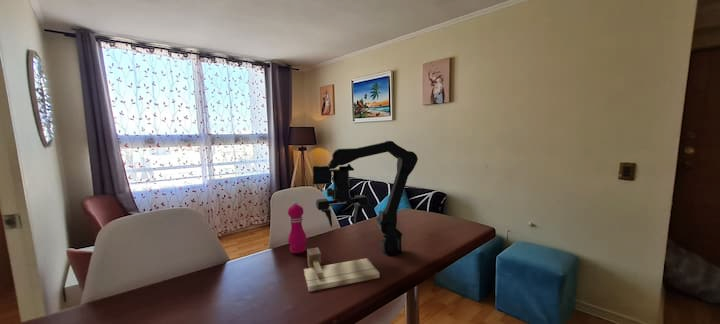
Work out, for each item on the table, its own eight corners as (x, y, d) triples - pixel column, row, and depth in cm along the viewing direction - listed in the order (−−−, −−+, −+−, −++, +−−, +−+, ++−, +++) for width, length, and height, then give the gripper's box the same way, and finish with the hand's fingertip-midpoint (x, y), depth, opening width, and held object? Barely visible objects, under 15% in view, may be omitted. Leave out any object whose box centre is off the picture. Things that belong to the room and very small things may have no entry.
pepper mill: (302, 254, 110) (299, 203, 108) (285, 253, 111) (282, 203, 110) (309, 247, 117) (307, 199, 115) (293, 246, 118) (290, 199, 117)
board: (367, 262, 101) (366, 258, 101) (379, 277, 89) (379, 272, 89) (304, 273, 94) (303, 268, 94) (308, 291, 83) (308, 286, 83)
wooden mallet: (318, 262, 103) (318, 247, 102) (327, 283, 87) (326, 265, 87) (307, 264, 101) (306, 249, 101) (314, 285, 86) (313, 268, 86)
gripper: (359, 178, 115) (360, 216, 116) (312, 182, 109) (314, 222, 110) (368, 182, 104) (369, 224, 105) (317, 186, 99) (319, 230, 100)
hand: (343, 224), depth 106 cm, fingers open, 9 cm apart
